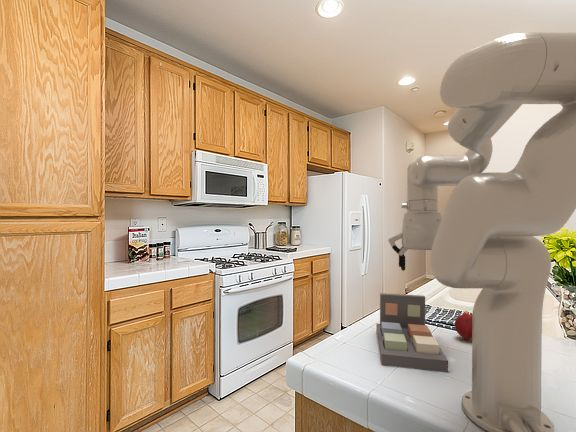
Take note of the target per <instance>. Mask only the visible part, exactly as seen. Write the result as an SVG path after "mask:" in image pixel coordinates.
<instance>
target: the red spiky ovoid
mask: <svg viewBox="0 0 576 432" xmlns="http://www.w3.org/2000/svg"><path fill="white" fill-rule="evenodd" d="M472 317H473V315H471V313H470V312H469V311H468V310H464V313H462V314H460V315H458V317H456V319H455V321H454V328H455V331H456V333H458V335H459V336H460V337H461V338H463V340H466V341H469V340H472Z"/></svg>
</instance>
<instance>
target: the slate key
mask: <svg viewBox="0 0 576 432" xmlns="http://www.w3.org/2000/svg"><path fill="white" fill-rule="evenodd" d="M381 331H382V336H384V333H394V334H402V328H401V326H400V323H391V322H381Z"/></svg>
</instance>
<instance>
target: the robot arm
mask: <svg viewBox="0 0 576 432" xmlns="http://www.w3.org/2000/svg"><path fill="white" fill-rule="evenodd" d="M439 89H440V90H439V91H440V93H439V95H440V99H441V102H442V103H443V104H444V105H445V106H446V107H449V108H453V109H456V110H455V111H454V113H453V114H452V116H451V118H450V119H449V120H448V123H447V131H448V134H449V136H450V138H451V139H452V140H453V141H454V142H456V143H457V144H458V145H460V146H462V147H463V148H465V149H467V151H466V152H465V153H463V154H461V155H457V154H456V155H455V154H453V155H452V154H451V155H450V154H444V155H443V154H437V155H436V154H434V155H433V154H427V155H426V154H425V155H422V156H419V157H418V158H417V159H416V160H415V161H413V162H410V163H409V164H408V165H407V172H406V173H407V174H406V175H407V177H406V178H407V179H406V180H407V181H406V182H407V184H406V186H407V188H406V190H407V192H406V193H407V194H406V195H407V197H406V198H407V200H406V202H404V203H401V208H402V209H406V212H404V215H403V219H402V220H403V221H402V229H401V230H402V231H401V232H400V233H399V234H396V235H395V236H392V237H390V238H388V240H387V242H388V243H389V245H390V247H391V248H392V250H393V251H394V252H395V253H396V254H398V267H399V268H400V270H401V271H406V255H405V253H406V252H407V251H408V250H419V251H420V250H421V251H431V252H430V256H429V257H430V259H429V260H430V262H429V264H430V270H431V272H432V275H433V276H434V278H435V279H436V281H437V282H438V283H440V284H441V285H444V286H445V287H448V288H453V289H465V290H466V289H481V290H480V292H479V294H478V295H477V297H476V299H475V302H474V305H473V307H472V316H473V317H472V338H471V341H472V342H471V343H472V344H471V346H472V347H471V353H472V354H471V356H472V357H471V359H472V360H471V390H470V391H467V392H465V393H464V394H463V396H462V398H461V408H462V411H463V412H464V413H465V415H466V416H467V418H469V419H470V420H471V421H472V422H474V424H475V425H477V426H478V427H480V428H482V429H483V430H485V431H487V432H555V430H554V428H555V426H554V424H553V422H552V421H551V420H550V418H549V416H547V415H546V414H545V413H544V412H543V411H542V355H543V354H542V351H543V350H542V346H543V345H542V344H543V343H542V341H543V340H542V339H543V338H542V334H543V307H544V300H545V299H544V298H545V293H546V289H547V285H548V281H549V278H550V274H551V270H552V269H551V268H552V259H551V254H550V252H549V250H548V248H547V246H546V245H545V244H544V243H543V241H541V240H540V239H538V238H537V237H540V236H541V237H542V236H549V235H552V234H555V233H557V232H558V231H560V230H561V229H562V228H564V227H565V225H566V224H567V223H568V222H569V220H570V219H571V217H572V215H573V214H574V212H575V211H576V32H541V31H540V32H536V31H534V32H529V31H528V32H516V33H509V34H506V35H503V36H501V37H498V38H495V39H492V40H491V41H488V42H486V43H483V44H481V45H479V46H477V47H475V48H472V49H469V50H468V51H466V52H464V53H462V54H461V55H459V56H458V57H457V58H456V59H455V60H453V62H452V63H451V64H450V65H449V66H448V68H447V69H446V70H445V72H444V74H443V78H442V80H441V83H440V87H439ZM522 105H560V106H561V107H562V109H561V110H560V111H558V112H557V113H556V114H555V115H553V116H552V117H550V118H549V119H548V120H547V121H546V122H544V123H543V124H542V125H541V126H540V127H538V129H537V130H536V131H535V132H534V133H533V134H532V136H530V138H529V140H528V141H527V143H526V145H525V146H524V149H523V151H522V153H521V155H520V158H519V160H518V162H517V163H516V165H515V166H514V168H512V169H511V170H509V171H507V172H484V171H486V169H487V168H488V166H489V164H490V161H491V159H492V155H493V143H492V142H493V141H492V138H493V137H494V136H495V134H497V132H498V131H499V130H500V129H501V128H502V127H503V126H504V125H505V124H506V123H507V122H508V121H509V119H511V117H512V116H513V115H514V114H515V113H516V112H517V111H518V110H519V109H520V108H521V107H522ZM438 187H454V188H453V190H452V191H451V193H450V195H449V197H448V200H447V203H446V206H445V208H444V211H443V214H442V212H439V211H438V197H439V193H438V191H439V189H438ZM399 240H401V244H402V245H401V247H400V248H399V247H398V246H397V244H396V242H398V241H399Z"/></svg>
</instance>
